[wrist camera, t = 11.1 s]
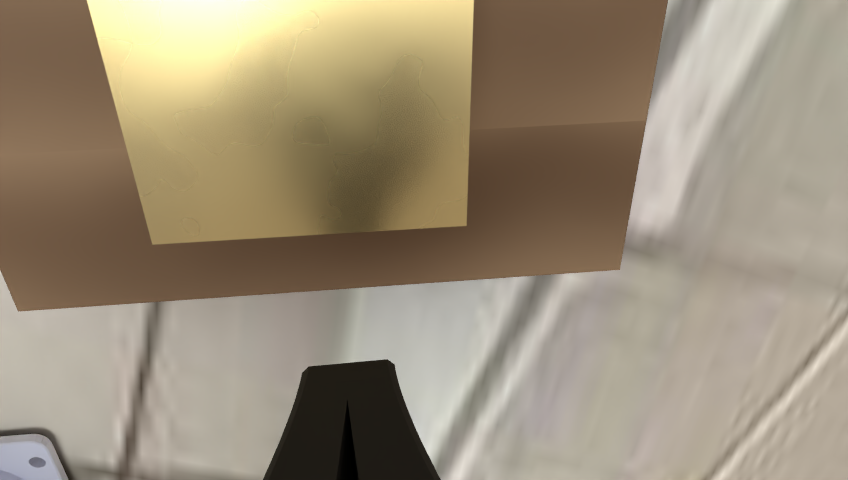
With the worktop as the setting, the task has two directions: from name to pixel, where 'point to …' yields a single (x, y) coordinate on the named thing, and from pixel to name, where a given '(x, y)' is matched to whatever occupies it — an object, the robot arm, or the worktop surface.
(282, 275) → the brown wooden block
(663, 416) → the worktop surface
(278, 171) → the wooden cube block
